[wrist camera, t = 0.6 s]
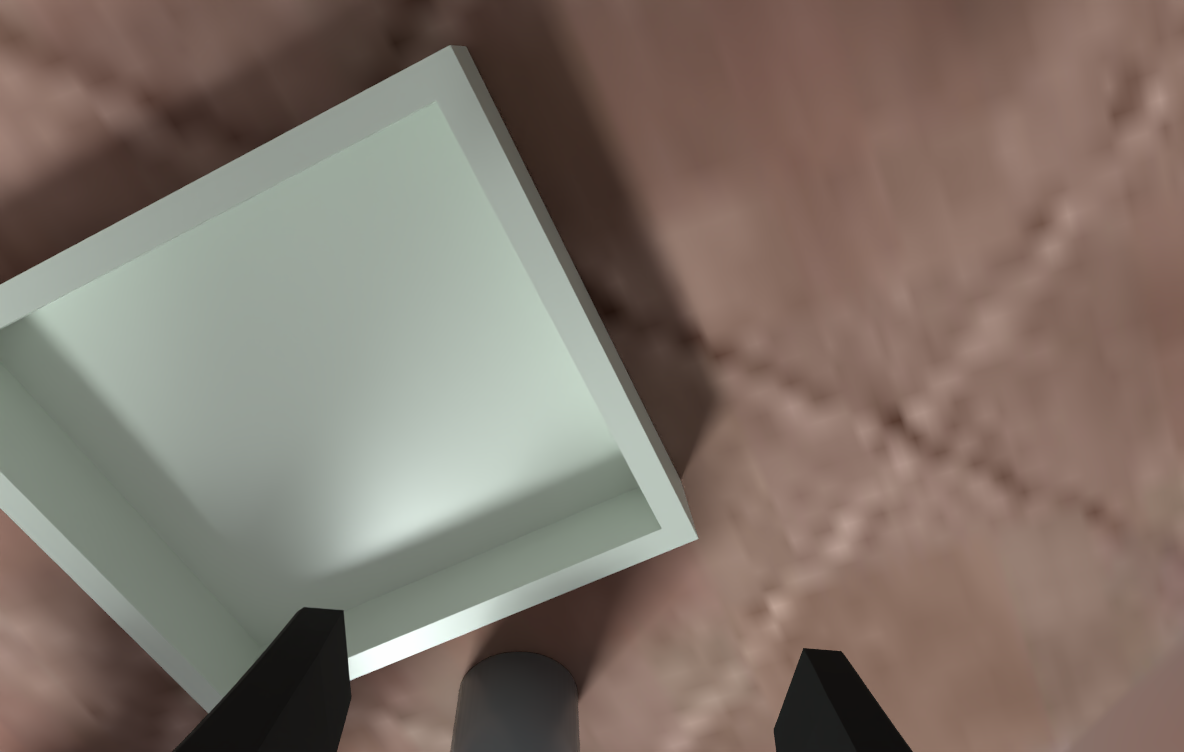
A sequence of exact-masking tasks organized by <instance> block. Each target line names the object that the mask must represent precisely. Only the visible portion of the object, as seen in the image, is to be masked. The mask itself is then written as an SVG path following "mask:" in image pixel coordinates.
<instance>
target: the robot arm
mask: <svg viewBox="0 0 1184 752" xmlns="http://www.w3.org/2000/svg"><path fill="white" fill-rule="evenodd" d="M350 701H351V687H350V676H349V665H348V654H347V642H346V631H345V620H344V610H335V609H322V608H310V607H303V608H302V609H300V610H299V611H297V612H296V613H295V615H294V616H293V617H292V618H291V620H290V621H289V622H288V623H287V625H286V626H285V627H284V628H283V629H282V631H281V632H280V633H279V634H278V635H277V637H276V638H275V639H274V640H273V641H272V643H271V644H270V645H269V646H268V647H267V649H266V650H265V651H264V652H263V653H262V654H261V656H260V657H259V658H258V659H257V660H256V661H255V663H254V664H253V665H252V666H251V667H250V668H249V669H248V670H247V672H246V673H245V674H244V675H243V676H242V677H241V678H240V680H239V681H238V682H237V683H236V684H235V685H234V686H233V688H232V689H231V690H230V691H229V692H228V693H227V694H226V695H225V696H224V697H223V698H222V699H221V701H220V702H219V703H218V704H217V705H216V706H215V707H214V708H213V709H212V710H211V711H210V712H209V714H208V715H207V716H206V717H205V718H204V719H203V720H202V721H201V722H200V723H199V724H198V725H197V727H196V728H195V729H194V730H193V731H192V732H191V733H190V734H189V735H188V736H187V737H186V738H185V739H184V740H183V741H182V742H181V743H180V744H179V745H178V746H177V747H176V748H175V749H174V750H173V751H172V752H337V748H338V745H339V741H340V738H341V734H342V731H343V727H344V723H345V719H346V716H347V712H348V708H349V704H350ZM774 737H775V745H776V752H913V751H912V750H911V749H910V747H909V746H908V744H907V743H906V742H905V740H904V739H903V738H902V736H901V735H900V733H899V732H898V731H897V729H896V728H895V726H894V725H893V724H892V722H891V721H890V719H889V718H888V717H887V715H886V714H885V712H884V711H883V709H882V708H881V707H880V705H879V704H878V702H877V701H876V699H875V698H874V697H873V695H872V694H871V692H870V691H869V689H868V688H867V687H866V685H865V684H864V682H863V681H862V679H861V678H860V676H859V675H858V674H857V672H856V671H855V669H854V668H853V666H852V665H851V664H850V662H849V661H848V659H847V658H846V657H845V655H844V654H843V653H842V652H841V651H831V650H819V649H807V648H803V651H802V654H801V656H800V659H799V662H798V665H797V667H796V670H795V673H794V676H793V678H792V681H791V684H790V686H789V689H788V692H787V695H786V697H785V700H784V703H783V706H782V708H781V711H780V714H779V717H778V719H777V722H776V725H775V728H774Z"/></svg>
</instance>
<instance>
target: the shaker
mask: <svg viewBox="0 0 1184 752" xmlns="http://www.w3.org/2000/svg"><path fill="white" fill-rule="evenodd" d="M450 752H580V740H579V716H578V693H577V686H576V683H575V681H574V679H573V677H572V675H571V674H570V673H569V671H568V670H567V669H566V668H565V667H563V666H562V665H561V664H559V663H558V662H556V661H555V660H553V659H551V658H548V657H546V656H543V655H539V654H535V653H530V652H509V653H503V654H499V655H495V656H492V657H490V658H487V659H485V660H483V661H481V662H480V663H478V664H477V665H475V666H474V667H473V668H472V669H471V670H470V671H469V672H468V673H467V674H466V676H465V677H464V678H463V681H462V683H461V685H460V689H459V695H458V702H457V709H456V716H455V723H454V729H453V736H452V743H451V750H450Z"/></svg>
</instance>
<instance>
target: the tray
mask: <svg viewBox="0 0 1184 752" xmlns="http://www.w3.org/2000/svg"><path fill="white" fill-rule="evenodd" d="M0 508H1V509H2V510H3V511H4V512H5V513H6V514H7V515H8V516H9V517H10V518H11V519H12V520H13V521H14V522H15V523H16V524H17V525H18V526H19V527H20V528H21V529H22V530H23V531H24V532H25V533H26V534H27V535H28V536H29V537H30V538H31V539H32V540H33V541H34V542H35V543H36V544H37V545H38V546H39V547H40V548H41V549H42V550H43V551H44V552H45V553H46V554H47V555H48V556H49V557H50V558H51V559H53V560H54V561H55V562H56V563H57V564H58V565H59V566H60V567H61V568H62V569H63V570H64V571H65V572H66V573H67V574H68V575H69V576H70V577H71V578H72V579H73V580H74V581H75V582H76V583H77V584H78V585H79V586H80V587H81V588H82V589H83V590H84V591H85V592H86V593H87V594H88V595H89V596H90V597H91V598H92V599H93V600H94V601H95V602H96V603H97V604H98V605H99V606H100V607H101V608H102V609H103V610H104V611H105V612H106V613H107V614H108V615H109V616H110V617H111V618H112V619H113V620H114V621H115V622H116V623H117V624H118V625H119V626H120V627H121V628H122V629H123V630H124V631H125V632H126V633H127V634H128V635H129V636H130V637H132V638H133V639H134V640H135V641H136V642H137V643H138V644H139V645H140V646H141V647H142V648H143V649H144V650H145V651H146V652H147V653H148V654H149V655H150V656H151V657H152V658H153V659H154V660H155V661H156V662H157V663H158V664H159V665H160V666H161V667H162V668H163V669H164V670H165V671H166V672H167V673H168V674H169V675H170V676H171V677H172V678H173V679H174V680H175V681H176V682H177V683H178V684H179V685H180V686H181V687H182V688H183V689H184V690H185V691H186V692H187V693H188V694H189V695H190V696H191V697H192V698H193V699H194V700H195V701H196V702H197V703H198V704H199V705H200V706H201V707H202V708H203V709H204V710H205V711H206V712H207V713H208V714H209V712H210V711H211V710H212V709H213V708H214V707H215V706H216V705H217V704H218V703H219V702H220V701H221V699H222V698H223V697H224V696H225V695H226V694H227V693H228V692H229V691H230V690H231V689H232V688H233V686H234V685H235V684H236V683H237V682H238V681H239V680H240V678H241V677H242V676H243V675H244V674H245V673H246V672H247V670H248V669H249V668H250V667H251V666H252V665H253V664H254V663H255V661H256V660H257V659H258V658H259V657H260V656H261V654H262V653H263V652H264V651H265V650H266V649H267V647H268V646H269V645H270V644H271V643H272V641H273V640H274V639H275V638H276V637H277V635H278V634H279V633H280V632H281V631H282V629H283V628H284V627H285V626H286V625H287V623H288V622H289V621H290V620H291V618H292V617H293V616H294V615H295V613H296V612H297V611H299V610H300V609H302V608H303V607H310V608H322V609H335V610H344V620H345V631H346V642H347V654H348V665H349V676H350V680H353V679H355V678H357V677H360V676H362V675H365V674H367V673H370V672H372V671H375V670H377V669H380V668H382V667H385V666H387V665H389V664H392V663H394V662H397V661H399V660H402V659H404V658H407V657H409V656H412V655H414V654H416V653H419V652H421V651H424V650H426V649H429V648H431V647H434V646H436V645H439V644H441V643H443V642H446V641H448V640H451V639H453V638H456V637H458V636H461V635H463V634H466V633H468V632H471V631H473V630H475V629H478V628H480V627H483V626H485V625H488V624H490V623H493V622H495V621H498V620H500V619H502V618H505V617H507V616H510V615H512V614H515V613H517V612H520V611H522V610H525V609H527V608H530V607H532V606H534V605H537V604H539V603H542V602H544V601H547V600H549V599H552V598H554V597H557V596H559V595H561V594H564V593H566V592H569V591H571V590H574V589H576V588H579V587H581V586H584V585H586V584H588V583H591V582H593V581H596V580H598V579H601V578H603V577H606V576H608V575H611V574H613V573H616V572H618V571H620V570H623V569H625V568H628V567H630V566H633V565H635V564H638V563H640V562H643V561H645V560H647V559H650V558H652V557H655V556H657V555H660V554H662V553H665V552H667V551H670V550H672V549H674V548H677V547H679V546H682V545H684V544H687V543H689V542H692V541H694V540H697V539H698V535H697V532H696V529H695V526H694V522H693V519H692V516H691V512H690V509H689V506H688V503H687V499H686V496H685V493H684V489H683V486H682V483H681V480H680V478H679V476H678V474H677V472H676V470H675V468H674V466H673V464H672V462H671V460H670V458H669V456H668V454H667V452H666V450H665V448H664V446H663V444H662V442H661V440H660V438H659V436H658V434H657V432H656V430H655V428H654V426H653V423H652V421H651V419H650V417H649V415H648V413H647V411H646V409H645V407H644V405H643V403H642V401H641V399H640V397H639V395H638V393H637V391H636V389H635V387H634V385H633V383H632V381H631V379H630V377H629V375H628V373H627V371H626V369H625V367H624V365H623V363H622V361H621V359H620V357H619V355H618V353H617V351H616V349H615V347H614V345H613V343H612V341H611V339H610V337H609V335H608V332H607V330H606V328H605V326H604V324H603V322H602V320H601V318H600V316H599V314H598V312H597V310H596V308H595V306H594V304H593V302H592V300H591V298H590V296H589V294H588V292H587V290H586V288H585V286H584V284H583V282H582V280H581V278H580V276H579V274H578V272H577V270H576V268H575V266H574V264H573V262H572V260H571V258H570V256H569V254H568V252H567V250H566V248H565V246H564V244H563V241H562V239H561V237H560V235H559V233H558V231H557V229H556V227H555V225H554V223H553V221H552V219H551V217H550V215H549V213H548V211H547V209H546V207H545V205H544V203H543V201H542V199H541V197H540V195H539V193H538V191H537V189H536V187H535V185H534V183H533V181H532V179H531V177H530V175H529V173H528V171H527V169H526V167H525V165H524V163H523V161H522V159H521V157H520V155H519V152H518V150H517V148H516V146H515V144H514V142H513V140H512V138H511V136H510V134H509V132H508V130H507V128H506V126H505V124H504V122H503V120H502V118H501V116H500V114H499V112H498V110H497V108H496V106H495V104H494V102H493V100H492V98H491V96H490V94H489V92H488V90H487V88H486V86H485V84H484V82H483V80H482V78H481V76H480V74H479V72H478V70H477V68H476V66H475V64H474V61H473V59H472V57H471V55H470V53H469V51H468V49H467V47H466V46H456V45H449V46H447V47H445V48H443V49H442V50H440V51H438V52H436V53H434V54H432V55H430V56H428V57H427V58H425V59H423V60H421V61H419V62H417V63H415V64H413V65H412V66H410V67H408V68H406V69H404V70H402V71H400V72H398V73H397V74H395V75H393V76H391V77H389V78H387V79H385V80H383V81H382V82H380V83H378V84H376V85H374V86H372V87H370V88H368V89H366V90H365V91H363V92H361V93H359V94H357V95H355V96H353V97H351V98H350V99H348V100H346V101H344V102H342V103H340V104H338V105H336V106H335V107H333V108H331V109H329V110H327V111H325V112H323V113H321V114H320V115H318V116H316V117H314V118H312V119H310V120H308V121H306V122H305V123H303V124H301V125H299V126H297V127H295V128H293V129H291V130H290V131H288V132H286V133H284V134H282V135H280V136H278V137H276V138H275V139H273V140H271V141H269V142H267V143H265V144H263V145H261V146H259V147H258V148H256V149H254V150H252V151H250V152H248V153H246V154H244V155H243V156H241V157H239V158H237V159H235V160H233V161H231V162H229V163H228V164H226V165H224V166H222V167H220V168H218V169H216V170H214V171H213V172H211V173H209V174H207V175H205V176H203V177H201V178H199V179H198V180H196V181H194V182H192V183H190V184H188V185H186V186H184V187H183V188H181V189H179V190H177V191H175V192H173V193H171V194H169V195H168V196H166V197H164V198H162V199H160V200H158V201H156V202H154V203H152V204H151V205H149V206H147V207H145V208H143V209H141V210H139V211H137V212H136V213H134V214H132V215H130V216H128V217H126V218H124V219H122V220H121V221H119V222H117V223H115V224H113V225H111V226H109V227H107V228H106V229H104V230H102V231H100V232H98V233H96V234H94V235H92V236H91V237H89V238H87V239H85V240H83V241H81V242H79V243H77V244H76V245H74V246H72V247H70V248H68V249H66V250H64V251H62V252H61V253H59V254H57V255H55V256H53V257H51V258H49V259H47V260H46V261H44V262H42V263H40V264H38V265H36V266H34V267H32V268H30V269H29V270H27V271H25V272H23V273H21V274H19V275H17V276H15V277H14V278H12V279H10V280H8V281H6V282H4V283H2V284H0Z"/></svg>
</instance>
